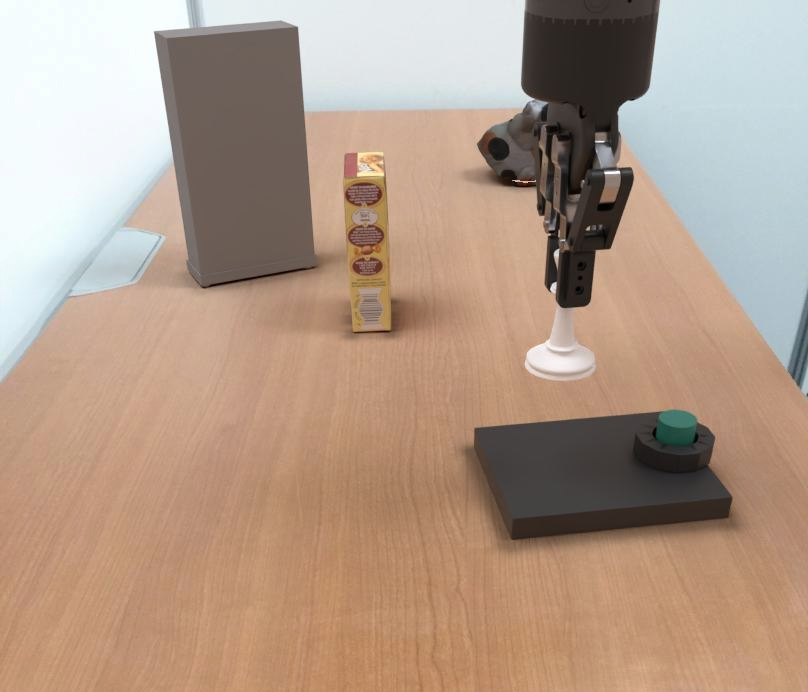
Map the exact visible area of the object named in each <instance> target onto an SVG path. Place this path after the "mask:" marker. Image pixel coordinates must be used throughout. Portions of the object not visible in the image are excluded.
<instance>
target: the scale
mask: <svg viewBox="0 0 808 692" xmlns="http://www.w3.org/2000/svg"><path fill="white" fill-rule="evenodd" d="M664 411H665V410H662V411H648V412H639V413H638V412H637V413H627V414H616V415H605V416H604V415H603V416H593V417H583V418H581V417H580V418H570V419H560V420H547V421H536V422H527V423H526V422H524V423H514V424H502V425H490V426H480V427H478V426H477V427H474V428H473V430H474V431H473V449H474V451H475V455H476V457H477V459H478V461H479V464H480V466H481V469H482V471H483V473H484V474H483V475H484V476H485V478H486V481H487V483H488V486H489V489H490V491H491V493H492V497H493V498H494V500H495V503H496V505H497V508H498V511H499V513H500V515H501V518H502V521H503V522H504V525H505V528H506V530H507V533H508V535H509V537H510V539H511V541H514V540H523V539H535V538H544V537H554V536H564V535H575V534H583V533H594V532H605V531H615V530H622V529H633V528H644V527H652V526H662V525H672V524H681V523H682V524H683V523H693V522H701V521H702V522H703V521H711V520H713V521H714V520H721V519H722V520H723V519H729V516H730V512H731V508H732V503H733V499H734V496H733V495H732V494H731V493H730V491H729V490H728V489H727V488H726V487H727V486H725V485H724V484H723V482H722V481H721V480H720V478H719V477H718V476H717V474H716V473H715V472H714V471H713V469H712V468H711V467H710V464H711V460H712V457H713V452H714V446H715V443H716V436H715V434H714V433H713V432H712V431H711V429H710V428H709V427H708V426H706V425H704V424H702V423H699V422H698V421H697V427H696V432H695V437H694V442H693V444H692V445H690V446H679V447H678V446H672V445H667V444H664V443H662V442H660V441H658V440H657V439H656V431H657V425H658V419H659V415H660V414H661V413H662V412H664Z"/></svg>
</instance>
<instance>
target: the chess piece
mask: <svg viewBox="0 0 808 692" xmlns="http://www.w3.org/2000/svg"><path fill="white" fill-rule="evenodd" d="M559 236H560V230H559V235H558V237H559ZM559 249H560V248H559ZM559 249H557V250H556V251H555V252H554V259H555V263H556V266H557V271H558V259H559ZM556 284H557V282H555V283H553V284H552V286H551V288H550V290H551V292H552V293H551V292H550V293H551V294H554V295H556ZM556 303H557V302H556ZM574 327H575V325H574V308H561V307H560V306H559V304H558V303H557V304H556V309H555V314H554V319H553V322H552V329H551V334H550V336H549V338H548V339H546V341H545V342H544V343H540V344H537V345H535V346H533V347H532V348H530V349H529V350H528V351H527V353H526V355H525V360H524V367H525V369H526V371H527V372H528V373H530V374H531V375H532V376H535V377H537V378H540V379H542V380H546V381H552V382H553V381H554V382H573V381H575V382H576V381H579V380H583V379H586V378H588V377H591V376H592V375H593V374H594V373H595V371H596V368H597V365H596V356H595V354H594V352H592V350H590V348H588V347H585V346H583V345H581V344H579V342H578V341H577V340H575V328H574Z"/></svg>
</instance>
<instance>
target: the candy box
mask: <svg viewBox="0 0 808 692" xmlns="http://www.w3.org/2000/svg"><path fill="white" fill-rule="evenodd" d="M342 184H343V204H344V222H345V236H346V238H345V239H346V240H345V241H346V254H347V269H348V271H347V272H348V281H349V282H348V283H349V298H350V299H349V300H350V311H351V323H352V324H351V325H352V332H353V333H359V332H361V333H362V332H382V331H386V332H389V331H391V330H392V294H391V293H392V292H391V291H392V290H391V287H392V286H391V255H390V231H389V230H390V226H389V207H388V205H389V203H388V189H387V173H386V163H385V153H384V152H383V151H371V152H369V151H368V152H366V151H365V152H345V153H344V157H343V177H342Z"/></svg>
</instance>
